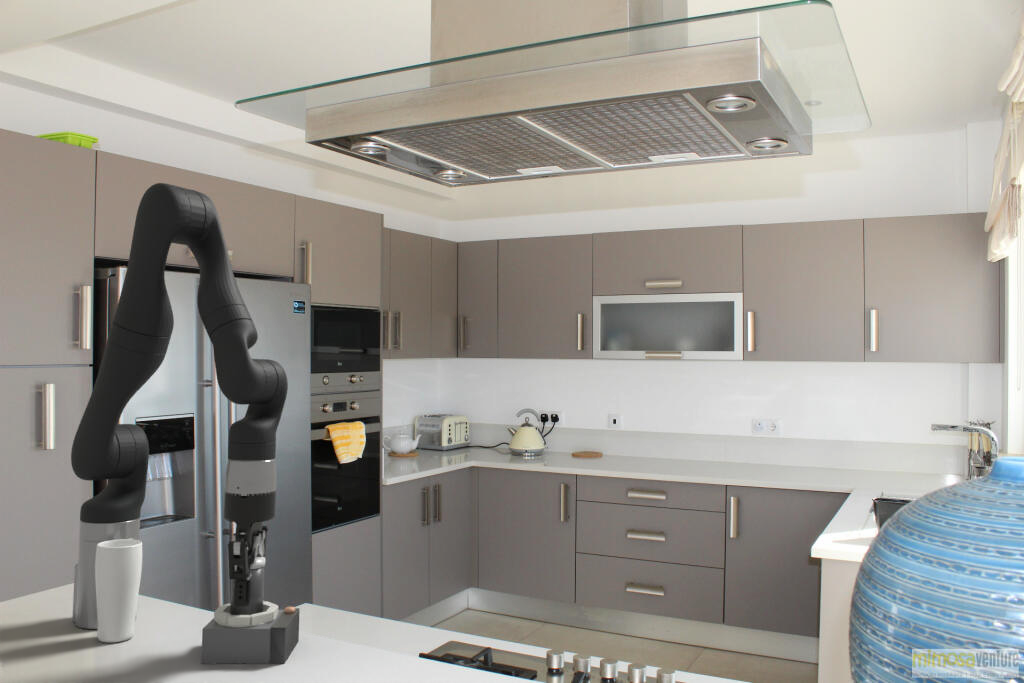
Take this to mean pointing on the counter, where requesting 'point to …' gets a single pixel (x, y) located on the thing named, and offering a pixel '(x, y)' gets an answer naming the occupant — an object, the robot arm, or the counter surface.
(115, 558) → the drinking glass
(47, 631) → the counter surface
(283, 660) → the block with octagonal ring
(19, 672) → the counter surface
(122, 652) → the counter surface
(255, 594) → the dark capped cylinder
